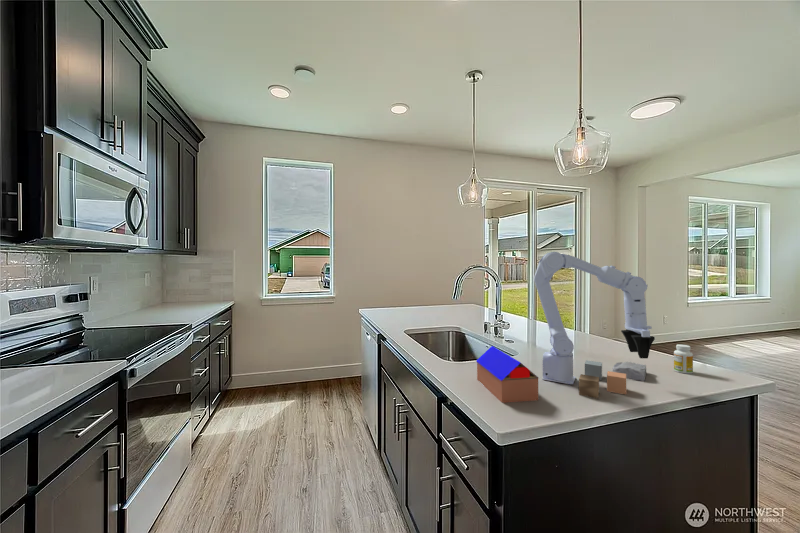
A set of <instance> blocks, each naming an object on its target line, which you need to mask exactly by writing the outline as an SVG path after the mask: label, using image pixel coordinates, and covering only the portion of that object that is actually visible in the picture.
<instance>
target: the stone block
mask: <svg viewBox="0 0 800 533" xmlns="http://www.w3.org/2000/svg"><path fill="white" fill-rule="evenodd" d="M612 372H617V373H624V374H626V380H633V381H640V382H644V381H646V376H647V365H646V364H642V363H641V364H640V363H636V362H631V361H624V362H623V361H619V362H616V363H615V364H614V365H613V366H612Z"/></svg>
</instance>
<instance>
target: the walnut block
mask: <svg viewBox="0 0 800 533" xmlns="http://www.w3.org/2000/svg"><path fill="white" fill-rule="evenodd" d="M599 394H600V380H599V377H595V376H589V375H585V374H580V375H579V377H578V395H579V396H583V397H587V398H594V399H599Z"/></svg>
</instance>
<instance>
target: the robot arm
mask: <svg viewBox="0 0 800 533" xmlns="http://www.w3.org/2000/svg"><path fill="white" fill-rule="evenodd" d="M562 268H563V269H567V268H568V269H569V268H574V269H575V270H579V271H580V272H581V271H582V272H584V273H587V274H591V275H593V276H595V277H596V278H597V280H598V282H600V283H603V284H605V285H608V286H609V287H613V288H615V289H617V290H618V289H619V290H621V291H622V292H623V307H624V321H625V322H624V328H625V329H622V330H621V331H620V332H621V334H622V335H623V337H624V339H625V340H626V343H627V347H628V350H629V352H630V353H637V355H638V357H639V359H649V355H650V351H651V348H652V344H653V342H654V341H655V336H653V335H651V331H650V330H652V329H653V328H652V325H648V320H647V319H648V318H647V304H646V297H645V292H646V291H647V289H648V288H649V287H648V284H647V283H646V281H645V280H644V279H643V277H640V276H637V275H636V276H635V275H632V272H630V271H627V272H625V271H622V270H620V269H617V268H616V266H614V265H610V266H609V265H604V266H598V265H595V264H594V263H591V262H588V261H586V260H583V259H581V258H578V257H575V255H570V254H566V253H561V252H558V251H551V252H547V253H545V254H544V255H542V257H541V259H539V261H538V265H537V267H536V270H535V274H534V276H533V282H534V284H535V288H536V290H537V294H538V297H539V300H540V303H541V306H542V309H543V312H544V316H545V319H546V322H547V326H548V329H549V330H548V331H549V333H550V338H549V343H550V344H551V346H552V347H551V348H550V350H549V351H544V352H543V354H542V378H541V379H542V380H544V381H550V382H555V383H561V384H566V385H574V383H575V381H576V379H577V377H576V376H575V375H574V353H573V351H574V349H575V348H574V342H573V341H572V340H571V339H570V337H569V336H568V334H567V331H566V329H565V326H564V323H563V321H562V320H563V319H562V317H561V314H560V310H559V308H558V305H557V301H556V298H555V296H554V292H553V289H552V286H551V283H550V281H551V279H552V278H553V276H555V275H554V274H556V273H557V272H558V271H559V270H561V269H562Z"/></svg>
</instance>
